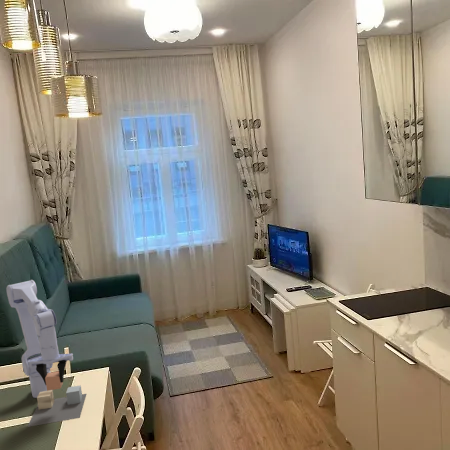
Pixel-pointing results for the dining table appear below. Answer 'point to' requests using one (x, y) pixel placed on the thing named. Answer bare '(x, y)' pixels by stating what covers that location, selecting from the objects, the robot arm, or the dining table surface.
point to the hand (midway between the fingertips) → (54, 382)
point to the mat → (57, 412)
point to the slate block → (74, 395)
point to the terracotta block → (53, 381)
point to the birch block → (45, 399)
